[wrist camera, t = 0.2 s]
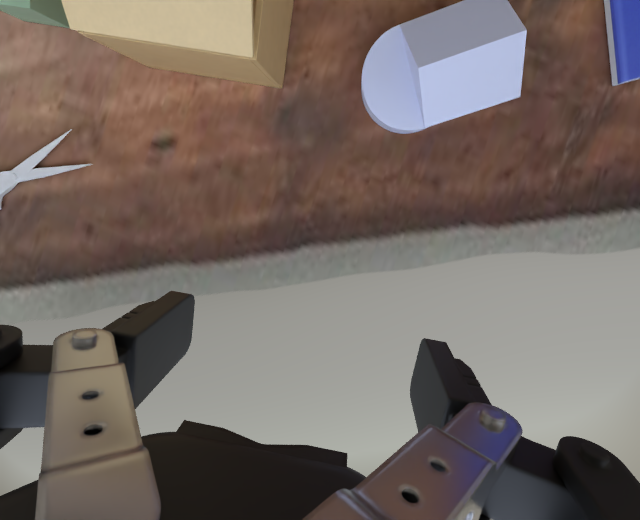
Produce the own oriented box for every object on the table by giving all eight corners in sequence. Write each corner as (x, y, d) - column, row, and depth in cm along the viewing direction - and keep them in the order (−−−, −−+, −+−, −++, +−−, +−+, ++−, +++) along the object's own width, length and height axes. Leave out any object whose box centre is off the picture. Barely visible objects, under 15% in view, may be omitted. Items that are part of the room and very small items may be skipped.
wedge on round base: (485, 4, 35) (350, 53, 37) (515, -33, 29) (349, 29, 31) (505, 103, 37) (375, 145, 39) (537, 89, 31) (379, 141, 33)
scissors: (-86, 169, 43) (56, 96, 40) (-78, 169, 44) (62, 97, 41) (-35, 255, 45) (105, 192, 42) (-29, 253, 46) (109, 192, 43)
